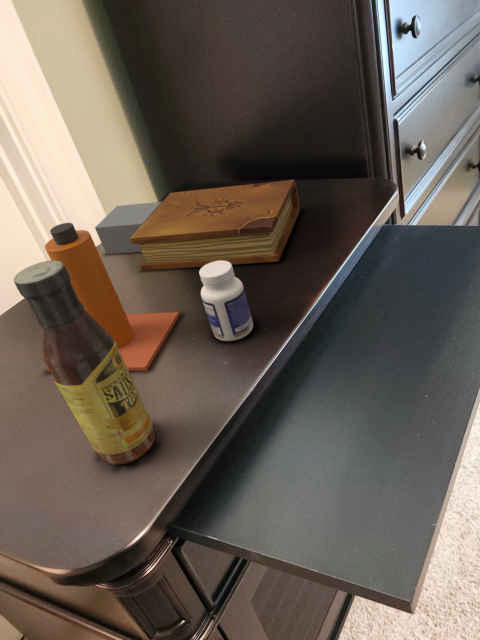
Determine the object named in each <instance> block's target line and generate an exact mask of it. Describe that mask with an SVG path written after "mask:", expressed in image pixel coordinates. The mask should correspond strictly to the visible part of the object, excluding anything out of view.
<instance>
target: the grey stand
mask: <svg viewBox="0 0 480 640" xmlns="http://www.w3.org/2000/svg"><path fill="white" fill-rule="evenodd" d="M162 202H163V201H154V202H143V203H132V204H123V205H116V206H115V207H114V208H113V209H112V210H111V211H110V212H109V213H108V214H107V215H106V216H104V218H103V219H102V220H101V221H100V222H99V223H98V224H97V225H96V226H95V227H94V229H95V231H96V234H97V236H98V238H99V240H100V243H101V245H102V247H103V250H104V252H105V254H106V255H115V254H116V255H117V254H131V253H142V252H141V249H140V247H139V244H138V243H137V244H132V243H131V240H130V238H131V237H132V235H133V234H134V233H135V232H136V231H137V230H138V229H139V228H140V227H141V225H142V224H143V223H144V222H145V221H146V220H147V219H148V218H149V216H150V215H151V214H152V213H153V212H154V211H155V210H156V209H157V208H158V206H159V205H160V204H161V203H162Z"/></svg>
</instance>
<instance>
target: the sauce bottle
mask: <svg viewBox="0 0 480 640" xmlns="http://www.w3.org/2000/svg"><path fill="white" fill-rule="evenodd" d="M13 283H14V285H15V287H16V289H17V291H18V292H19V294H20V295H21V296H22V298H24V299H25V300H26V301H27V303H28V305H29V307H30V308H31V310H32V313H33V315H34V316H35V318H36V321H37V323H38V325H39V326H40V328H41V334H40V354H41V357H42V359H43V362H44V363H45V365H46V368H47V367H48V368H49V370H50V372H49V373H51V375H52V380H53V381H54V383H55V385H56V386H57V388H58V390H59V392H60V394H61V395H62V397H63V399H64V400H65V402H66V403H67V405H68V407H69V409H70V410H71V412H72V414H73V415H74V417H75V419H76V421H77V423H78V425H79V426H80V428H81V430H82V432H83V433H84V435H85V436H86V438H87V440H88V441H89V443H90V445H91V447H92V449H93V450H94V451H95V452H97V453H98V455H99V457H100V459H101V460H102V461H103V462H105V463H107V464H110V465H115V466H119V465H124V464H125V465H126V464H129V463H133V462H134V461H136V460H138V459H139V458H141V457H142V456H144V455H145V454H146V453H147V452H149V450H150V449H151V448H152V446H153V445H154V442H155V440H156V438H155V437H156V435H155V429H154V426H153V420H152V418H151V415H150V413H149V412H148V409H147V407H146V405H145V403H144V400H143V399H142V396H141V394H140V392H139V390H138V388H137V385H136V383H135V381H134V379H133V377H132V375H131V373H130V372H131V371H129V370H128V368H127V366H126V364H125V362H124V360H123V357H122V355H121V353H120V351H119V348H118V346H117V344H116V342H115V340H114V338H112V337H111V336H110V335H109V334H108V333H107V332H106V331H105V330H104V329H103V328H102V327H101V326H100V325H99V324H98V323H97V322H96V321H95V320H94V319H93V318H92V317H91V315H90V314H89V313H88V312H87V311H86V310H85V309H84V306H83V305H82V303H81V302H80V301H79V299H78V297H77V295H76V293H75V290H74V289H73V287H72V284H71V279H70V275H69V273H68V271H67V269H66V267H65V266H64V264H63V263H62V262H60V261H55V260H51V259H50V260H44V261H41V262H37V263H35V264H32V265H30V266H28V267H25V268H23V269H22V270H20V271H19V272H17V273H16V275H15V276H14V277H13Z"/></svg>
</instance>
